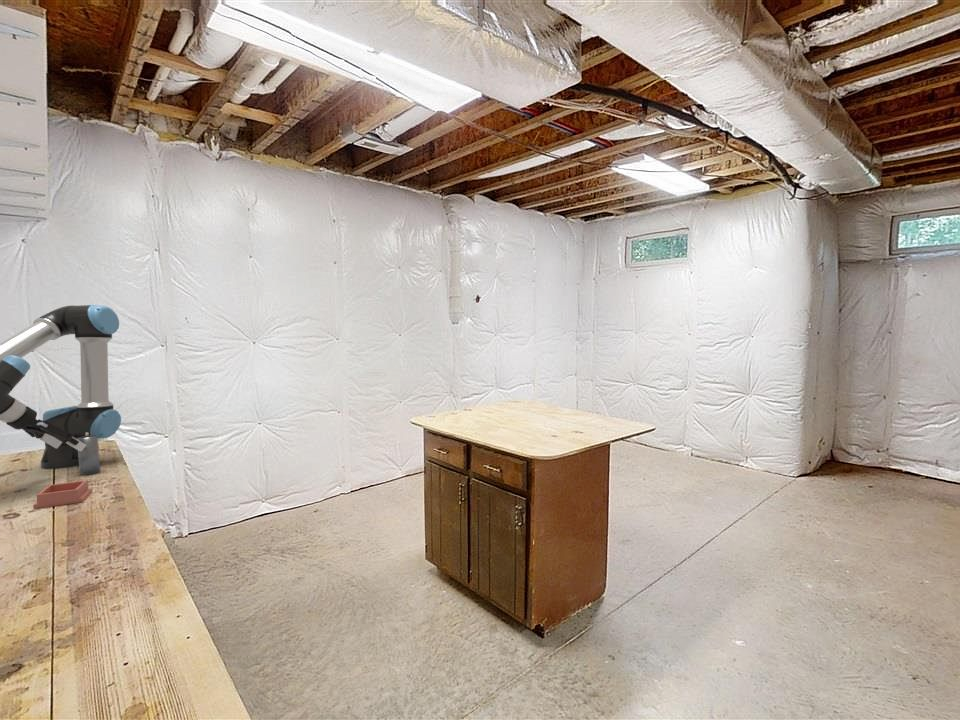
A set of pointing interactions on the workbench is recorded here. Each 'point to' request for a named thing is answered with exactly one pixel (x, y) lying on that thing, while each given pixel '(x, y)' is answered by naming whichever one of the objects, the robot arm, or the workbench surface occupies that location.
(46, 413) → the robot arm
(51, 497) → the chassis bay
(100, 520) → the workbench surface
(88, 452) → the motor housing
